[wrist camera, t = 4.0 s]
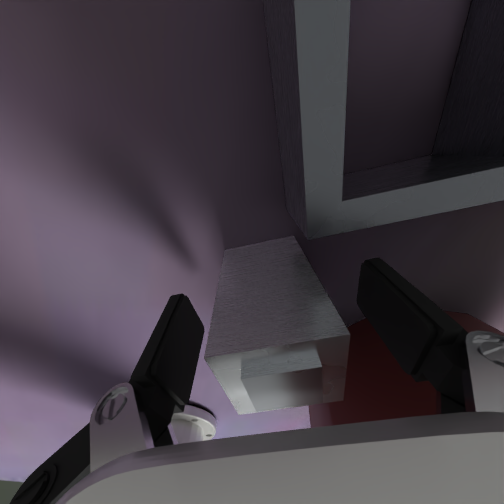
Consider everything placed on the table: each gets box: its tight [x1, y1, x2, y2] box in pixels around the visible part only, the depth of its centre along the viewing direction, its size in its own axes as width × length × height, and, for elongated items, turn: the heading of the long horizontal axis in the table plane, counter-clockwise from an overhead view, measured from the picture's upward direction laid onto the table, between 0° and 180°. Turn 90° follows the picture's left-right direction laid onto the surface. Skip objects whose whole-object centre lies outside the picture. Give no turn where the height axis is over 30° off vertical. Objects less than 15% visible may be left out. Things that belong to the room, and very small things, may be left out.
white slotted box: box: [204, 235, 350, 415], centre depth 9 cm, size 4×4×7 cm
